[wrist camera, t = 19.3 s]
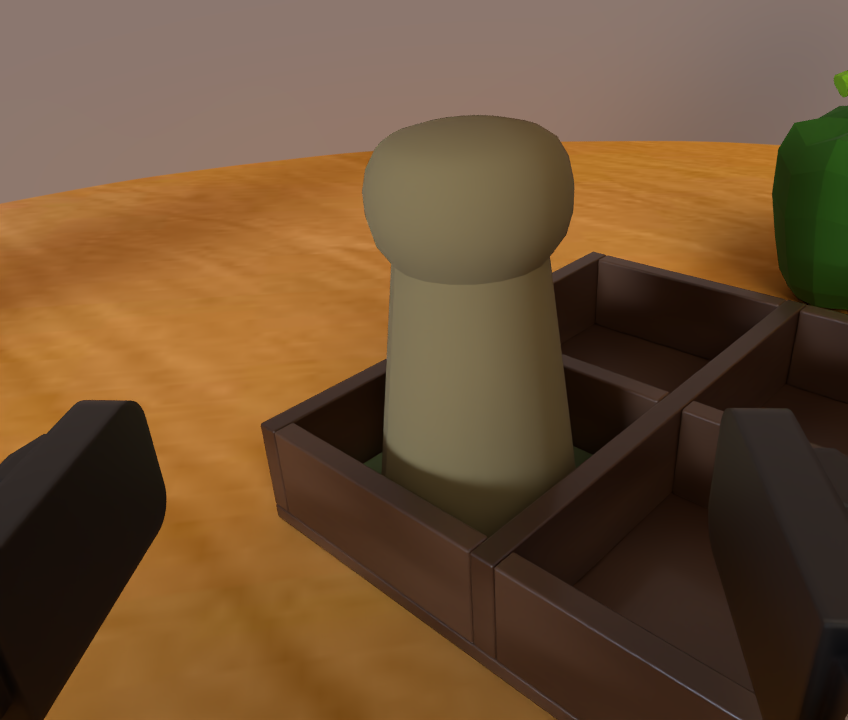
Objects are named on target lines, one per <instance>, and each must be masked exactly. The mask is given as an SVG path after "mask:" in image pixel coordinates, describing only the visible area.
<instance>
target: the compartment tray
mask: <svg viewBox="0 0 848 720" xmlns="http://www.w3.org/2000/svg"><path fill="white" fill-rule="evenodd" d="M552 278H553V286H554V294H555V302H556V310H557V319H558V327H559V335H560V343H561V351H562V359H563V368H564V376H565V384H566V392H567V400H568V409H569V417H570V425H571V433H572V441H573V449H574V458H575V466H576V469H575V470H573V471H572V472H571V473H569V474H568V475H567V476H566V477H564V478H563V479H562V480H561V481H559V482H558V483H557V484H556V485H554V486H553V487H552V488H551V489H549V490H548V491H547V492H546V493H544V494H543V495H542V496H541V497H539V498H538V499H537V500H536V501H534V502H533V503H532V504H531V505H529V506H528V507H527V508H526V509H524V510H523V511H522V512H521V513H519V514H518V515H517V516H516V517H514V518H513V519H512V520H511V521H509V522H508V523H507V524H506V525H504V526H503V527H502V528H501V529H499V530H498V531H497V532H495V533H494V534H493V535H492V536H490V537H489V538H487V536H486V535H484V534H482V533H480V532H479V531H477V530H475V529H474V528H472V527H470V526H469V525H467V524H465V523H463V522H462V521H460V520H458V519H457V518H455V517H453V516H451V515H450V514H448V513H446V512H445V511H443V510H441V509H440V508H438V507H436V506H434V505H433V504H431V503H429V502H428V501H426V500H424V499H422V498H421V497H419V496H417V495H416V494H414V493H412V492H411V491H409V490H407V489H405V488H404V487H402V486H400V485H399V484H397V483H395V482H393V481H392V480H390V479H388V478H387V477H385V476H383V475H381V470H382V449H383V428H384V407H385V386H386V365H387V359H385V360H383V361H381V362H379V363H377V364H375V365H373V366H371V367H369V368H367V369H365V370H364V371H362V372H360V373H358V374H356V375H354V376H352V377H350V378H348V379H346V380H344V381H342V382H340V383H338V384H336V385H335V386H333V387H331V388H329V389H327V390H325V391H323V392H321V393H319V394H317V395H315V396H313V397H311V398H309V399H307V400H306V401H304V402H302V403H300V404H298V405H296V406H294V407H292V408H290V409H288V410H286V411H284V412H282V413H280V414H278V415H277V416H275V417H273V418H271V419H269V420H267V421H265V422H263V423H262V424H261V429H262V434H263V439H264V444H265V449H266V454H267V459H268V464H269V469H270V474H271V479H272V485H273V490H274V495H275V500H276V503H277V505H276V506H277V511H278V515H279V517H281V518H282V519H284V520H285V521H286V522H288V523H289V524H290V525H292V526H293V527H294V528H296V529H297V530H299V531H300V532H301V533H303V534H304V535H305V536H307V537H308V538H310V539H311V540H312V541H314V542H315V543H316V544H318V545H319V546H320V547H322V548H323V549H325V550H326V551H327V552H329V553H330V554H331V555H333V556H334V557H336V558H337V559H338V560H340V561H341V562H342V563H344V564H345V565H347V566H348V567H349V568H351V569H352V570H353V571H355V572H356V573H357V574H359V575H360V576H362V577H363V578H364V579H366V580H367V581H368V582H370V583H371V584H373V585H374V586H375V587H377V588H378V589H379V590H381V591H382V592H384V593H385V594H386V595H388V596H389V597H390V598H392V599H393V600H394V601H396V602H397V603H399V604H400V605H401V606H403V607H404V608H405V609H407V610H408V611H410V612H411V613H412V614H414V615H415V616H416V617H418V618H419V619H421V620H422V621H423V622H425V623H426V624H427V625H429V626H430V627H431V628H433V629H434V630H436V631H437V632H438V633H440V634H441V635H442V636H444V637H445V638H447V639H448V640H449V641H451V642H452V643H453V644H455V645H456V646H457V647H459V648H460V649H462V650H463V651H464V652H466V653H467V654H468V655H470V656H471V657H473V658H474V659H475V660H477V661H478V662H479V663H481V664H482V665H484V666H485V667H486V668H488V669H489V670H490V671H492V672H493V673H494V674H496V675H497V676H499V677H500V678H501V679H503V680H504V681H505V682H507V683H508V684H510V685H511V686H512V687H514V688H515V689H516V690H518V691H519V692H521V693H522V694H523V695H525V696H526V697H527V698H529V699H530V700H531V701H533V702H534V703H536V704H537V705H538V706H540V707H541V708H542V709H544V710H545V711H547V712H548V713H549V714H551V715H552V716H553V717H555V718H556V719H558V720H763V719H762V715H761V712H760V709H759V705H758V702H757V699H756V696H755V692H754V689H753V686H752V682H751V679H750V676H749V672H748V669H747V666H746V662H745V659H744V656H743V652H742V649H741V646H740V642H739V639H738V636H737V632H736V629H735V626H734V622H733V619H732V616H731V612H730V609H729V606H728V602H727V599H726V596H725V593H724V589H723V586H722V583H721V579H720V576H719V573H718V569H717V566H716V563H715V559H714V556H713V553H712V549H711V544H710V538H709V529H708V505H709V497H710V490H711V483H712V477H713V470H714V463H715V456H716V450H717V443H718V436H719V429H720V423H721V419H722V415H723V413H724V411H725V409H727V408H787V409H790V410H791V411H792V412H793V414H794V416H795V417H796V419H797V421H798V423H799V425H800V426H801V428H802V430H803V432H804V434H805V435H806V437H807V439H808V441H809V443H810V444H811V446H812V448H836V449H837V450H838V451H840V452H841V453H842V454H844V455H845V456H846V457H847V458H848V314H844V313H840V312H836V311H831V310H827V309H823V308H819V307H815V306H811V305H807V306H806V304H803V303H799V302H795V301H791V300H785V299H782V298H778V297H774V296H770V295H766V294H762V293H758V292H754V291H750V290H746V289H742V288H738V287H734V286H729V285H725V284H721V283H717V282H713V281H709V280H705V279H701V278H697V277H693V276H689V275H685V274H681V273H677V272H673V271H669V270H664V269H660V268H656V267H652V266H648V265H644V264H640V263H636V262H632V261H628V260H624V259H620V258H616V257H612V256H606V255H604V254H600V253H596V252H592V253H590V254H588V255H586V256H584V257H582V258H580V259H578V260H576V261H574V262H572V263H570V264H568V265H566V266H564V267H563V268H561V269H559V270H557V271H555V272H553V273H552Z"/></svg>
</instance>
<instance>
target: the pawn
mask: <svg viewBox="0 0 848 720" xmlns="http://www.w3.org/2000/svg"><path fill="white" fill-rule="evenodd" d="M362 194H363V203H364V211H365V216H366V219H367V222H368V225H369V228H370V230H371V233H372V236H373V238H374V241H375V244H376V247H377V248H378V249H379V250H380V251H381V253H382V254H383V255H384V256H385V257H386V258H387V259H388V261H389V262H390V263H391V280H390V301H389V322H388V343H387V365H386V386H385V407H384V428H383V449H382V470H381V475H383V476H385V477H387V478H388V479H390V480H392V481H393V482H395V483H397V484H399V485H400V486H402V487H404V488H405V489H407V490H409V491H411V492H412V493H414V494H416V495H417V496H419V497H421V498H422V499H424V500H426V501H428V502H429V503H431V504H433V505H434V506H436V507H438V508H440V509H441V510H443V511H445V512H446V513H448V514H450V515H451V516H453V517H455V518H457V519H458V520H460V521H462V522H463V523H465V524H467V525H469V526H470V527H472V528H474V529H475V530H477V531H479V532H480V533H482V534H484V535H486V536H487V538H489V537H490V536H492V535H493V534H494V533H495V532H497V531H498V530H499V529H501V528H502V527H503V526H504V525H506V524H507V523H508V522H509V521H511V520H512V519H513V518H514V517H516V516H517V515H518V514H519V513H521V512H522V511H523V510H524V509H526V508H527V507H528V506H529V505H531V504H532V503H533V502H534V501H536V500H537V499H538V498H539V497H541V496H542V495H543V494H544V493H546V492H547V491H548V490H549V489H551V488H552V487H553V486H554V485H556V484H557V483H558V482H559V481H561V480H562V479H563V478H564V477H566V476H567V475H568V474H569V473H571V472H572V471H573V470H575V469H576V466H575V458H574V449H573V441H572V433H571V425H570V417H569V409H568V400H567V392H566V384H565V376H564V368H563V359H562V351H561V343H560V335H559V327H558V319H557V310H556V302H555V294H554V286H553V278H552V270H551V261H550V256H551V254H552V253H553V252H554V250H555V249H556V248H557V246H558V245H559V244H560V242H561V241H562V240H563V238H564V237H565V236H566V234H567V231H568V227H569V224H570V220H571V217H572V214H573V205H574V179H573V173H572V169H571V164H570V160H569V155H568V154H567V152H566V150H565V149H564V147H563V145H562V143H561V142H560V140H559V139H558V137H557V136H556V135H554V134H553V133H551V132H550V131H548V130H546V129H545V128H543V127H541V126H540V125H538V124H536V123H533V122H528V121H525V120H520V119H513V118H506V117H499V116H486V115H472V116H456V117H446V118H440V119H435V120H430V121H427V122H424V123H420V124H416V125H413V126H409V127H406V128H402V129H400V130H398V131H396V132H394V133H392V134H391V135H389V136H388V137H387V138H385V139H384V140H383V141H381V142H380V143H379V144H378V146H377V147H376V148H375V150H374V152H373V154H372V156H371V158H370V160H369V162H368V165H367V167H366V169H365V175H364V182H363V189H362Z"/></svg>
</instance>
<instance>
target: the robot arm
mask: <svg viewBox="0 0 848 720" xmlns="http://www.w3.org/2000/svg"><path fill="white" fill-rule="evenodd" d="M165 511H166V489H165V484H164V481H163V477H162V474H161V470H160V467H159V463H158V460H157V456H156V452H155V449H154V445H153V442H152V438H151V435H150V431H149V427H148V424H147V420H146V417H145V414H144V411H143V410H142V408H141V406H140V405H139V404H138V403H137V402H135V401H115V400H83V401H79V402H77V403H76V404H75V405H74V406H73V407H72V408H71V409H70V410H69V411H68V412H67V413H66V414H65V415H64V416H63V417H62V418H61V419H60V420H59V421H58V422H57V423H56V424H55V425H54V427H53V428H52V429H51V430H50V431H49V432H48V433H47V434H43V435H41V436H40V437H38V438H37V439H35V440H33V441H32V442H30V443H28V444H27V445H25V446H23V447H22V448H20V449H19V450H17V451H15V452H14V453H12V454H10V455H9V456H8V457H7V458H6V459H5V460H4V461H3V462H2V463H1V464H0V720H44V718H45V716H46V715H47V713H48V711H49V710H50V708H51V707H52V705H53V703H54V702H55V700H56V698H57V697H58V695H59V694H60V692H61V690H62V689H63V687H64V685H65V684H66V682H67V680H68V679H69V677H70V676H71V674H72V672H73V671H74V669H75V667H76V666H77V664H78V663H79V661H80V659H81V658H82V656H83V654H84V653H85V651H86V649H87V648H88V646H89V645H90V643H91V641H92V640H93V638H94V636H95V635H96V633H97V632H98V630H99V628H100V627H101V625H102V623H103V622H104V620H105V618H106V617H107V615H108V614H109V612H110V610H111V609H112V607H113V605H114V604H115V602H116V601H117V599H118V597H119V596H120V594H121V592H122V591H123V589H124V587H125V586H126V584H127V583H128V581H129V579H130V578H131V576H132V574H133V573H134V571H135V570H136V568H137V566H138V565H139V563H140V561H141V560H142V558H143V556H144V555H145V553H146V552H147V550H148V548H149V547H150V545H151V543H152V542H153V540H154V539H155V537H156V535H157V534H158V532H159V530H160V528H161V526H162V523H163V520H164V516H165ZM708 529H709V538H710V544H711V549H712V553H713V556H714V559H715V563H716V566H717V569H718V573H719V576H720V579H721V583H722V586H723V589H724V593H725V596H726V599H727V602H728V606H729V609H730V612H731V616H732V619H733V622H734V626H735V629H736V632H737V636H738V639H739V642H740V646H741V649H742V652H743V656H744V659H745V662H746V666H747V669H748V672H749V676H750V679H751V682H752V686H753V689H754V692H755V696H756V699H757V702H758V705H759V709H760V712H761V715H762V719H763V720H848V458H847V457H846V456H845V455H844V454H842V453H841V452H840V451H838V450H837V449H836V448H812V446H811V444H810V443H809V441H808V439H807V437H806V435H805V434H804V432H803V430H802V428H801V426H800V425H799V423H798V421H797V419H796V417H795V416H794V414H793V412H792V411H791V410H790V409H787V408H727V409H725V411H724V413H723V415H722V419H721V423H720V429H719V436H718V443H717V450H716V456H715V463H714V470H713V477H712V483H711V490H710V497H709V505H708Z"/></svg>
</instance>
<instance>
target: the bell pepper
mask: <svg viewBox="0 0 848 720" xmlns="http://www.w3.org/2000/svg"><path fill="white" fill-rule="evenodd" d="M834 84H835V86H836V88H837V89H838V91H839V93H840V95H841V96H842V97H847V96H848V70H847V71H844V72H842V73H839V74H837V75H835V77H834ZM772 198H773V213H774V228H775V240H776V247H777V255H778V263H779V269H780V271H781V273H782V275H783V277H784V279H785V281H786V283H787V285H788V287H789V288H790V289H791V290H792V292H793V293H794V294H795V296H796V297H797V298H798V299H801V300H803V301H805V302H807V303H809V304H811V305H813V306H815V307H819V308H832V309H845V310H848V106H839V107H837V108H835V109H834V110H832V111H831V112H829V113H827V114H825V115H824V116H822V117H820V118H818V119H813V120H808V121H802V122H797V123H794V125H793V126H792V128H791V129H790V131H789V133H788V134H787V136H786V138H785V139H784V141H783V142H782V144H781V146H780V147H779V149H778V155H777V163H776V170H775V177H774V184H773V191H772Z"/></svg>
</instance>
